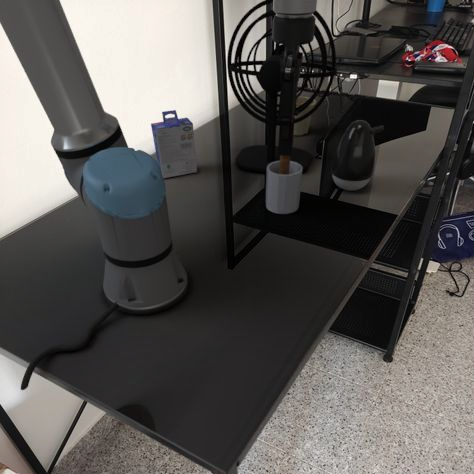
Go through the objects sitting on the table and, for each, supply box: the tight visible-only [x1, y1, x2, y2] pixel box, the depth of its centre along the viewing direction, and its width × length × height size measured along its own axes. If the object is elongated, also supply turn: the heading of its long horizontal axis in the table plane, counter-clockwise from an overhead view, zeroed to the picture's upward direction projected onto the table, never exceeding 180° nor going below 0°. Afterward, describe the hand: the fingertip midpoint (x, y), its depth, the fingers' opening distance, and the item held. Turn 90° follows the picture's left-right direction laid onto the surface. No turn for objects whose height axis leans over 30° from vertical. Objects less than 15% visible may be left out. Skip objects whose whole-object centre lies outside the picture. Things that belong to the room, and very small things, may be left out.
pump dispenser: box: [330, 119, 385, 192], centre depth 102 cm, size 10×10×15 cm
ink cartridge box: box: [150, 109, 198, 179], centre depth 110 cm, size 10×6×14 cm, turn 112°
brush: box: [279, 100, 295, 175], centre depth 92 cm, size 4×4×20 cm
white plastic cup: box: [265, 161, 303, 215], centre depth 98 cm, size 8×8×9 cm
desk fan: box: [226, 0, 338, 173], centre depth 106 cm, size 27×18×35 cm, turn 75°
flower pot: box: [293, 96, 317, 136], centre depth 130 cm, size 9×9×9 cm
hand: (285, 151), depth 92 cm, fingers closed on brush, 2 cm apart
